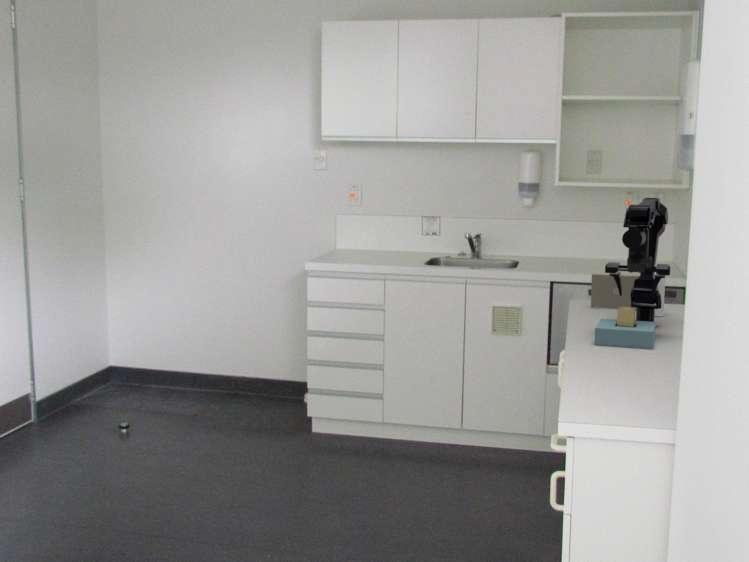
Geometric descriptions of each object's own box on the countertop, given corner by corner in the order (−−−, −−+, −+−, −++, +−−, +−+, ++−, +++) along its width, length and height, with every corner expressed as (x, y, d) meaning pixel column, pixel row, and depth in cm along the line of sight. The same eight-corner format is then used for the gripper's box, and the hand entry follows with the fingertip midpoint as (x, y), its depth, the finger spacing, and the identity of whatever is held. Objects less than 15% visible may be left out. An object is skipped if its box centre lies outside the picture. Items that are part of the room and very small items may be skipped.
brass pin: (617, 336, 236) (619, 306, 235) (634, 337, 234) (635, 307, 233) (616, 339, 232) (617, 309, 230) (632, 340, 230) (634, 310, 229)
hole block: (600, 334, 243) (601, 318, 243) (655, 338, 237) (655, 321, 237) (594, 344, 229) (595, 328, 228) (652, 349, 223) (653, 331, 222)
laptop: (643, 306, 296) (645, 272, 294) (641, 311, 284) (643, 276, 282) (594, 303, 302) (595, 270, 301) (590, 308, 291) (591, 274, 289)
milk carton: (663, 317, 272) (666, 262, 269) (642, 316, 273) (644, 262, 271) (660, 313, 279) (662, 260, 276) (639, 312, 280) (641, 260, 278)
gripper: (604, 247, 235) (602, 298, 237) (670, 249, 228) (668, 302, 230) (607, 244, 245) (606, 293, 247) (671, 246, 238) (669, 296, 240)
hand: (636, 296), depth 241 cm, fingers open, 9 cm apart
